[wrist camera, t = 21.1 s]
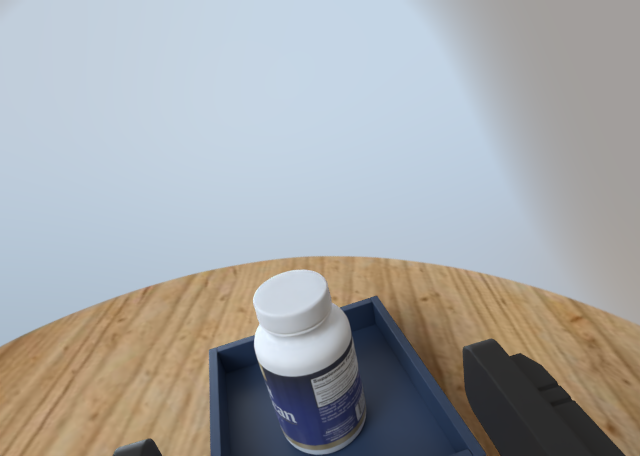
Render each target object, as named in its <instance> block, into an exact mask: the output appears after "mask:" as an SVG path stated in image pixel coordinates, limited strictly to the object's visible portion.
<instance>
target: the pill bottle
mask: <svg viewBox="0 0 640 456" xmlns="http://www.w3.org/2000/svg"><path fill="white" fill-rule="evenodd" d="M253 304H254V307H255V311H256V314H257V318H258V321H259V323H260V325H259V326H258V328H257V330H256V334H255V338H254V348H255V353H256V356H257V360H258V363H259V365H260V368H261V371H262V374H263V377H264V380H265V383H266V386H267V389H268V391H269V395H270V397H271V400H272V403H273V406H274V409H275V412H276V415H277V418H278V420H279V423H280V426H281V429H282V431H283V433H284V435H285V437H286V438H287V440H288V441H289V442H290V443H291V444H292V445H293V446H294V447H295V448H297V449H299V450H300V451H303V452H305V453H309V454H314V455H323V454H329V453H333V452H336V451H338V450H340V449H342V448H344V447H345V446H347V445H348V444H350V443H351V442H352V441H353V440H354V439H355V438H356V437H357V435H358V434H359V433H360V431H361V429H362V427H363V425H364V422H365V418H366V402H365V396H364V391H363V386H362V381H361V377H360V372H359V367H358V362H357V357H356V352H355V347H354V342H353V337H352V332H351V328H350V324H349V321H348V318H347V316H346V315H345V313H344V312H343V311H342V310H341V309H340V308H339V307H338V306H336V305H335V304H333V303H332V302H331V296H330V292H329V288H328V284H327V281H326V280H325V278H324V277H323V276H322V275H321V274H319V273H317V272H314V271H310V270H293V271H288V272H284V273H281V274H278V275H276V276H274V277H272V278H270V279H269V280H267V281H266V282H264V283H263V284H262V285H261V286H260V287H259V288H258V289H257V291H256V293H255V295H254V299H253Z"/></svg>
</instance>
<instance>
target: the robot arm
mask: <svg viewBox="0 0 640 456" xmlns="http://www.w3.org/2000/svg"><path fill="white" fill-rule="evenodd" d="M463 366H464V382H465V391H466V395H467V398H468V401H469V404H470V406H471V408H472V410H473V412H474V414H475V415H476V417H477V418H478V420H479V422H480V423H481V425H482V426H483V428H484V429H485V431H486V433H487V434H488V436H489V437H490V439H491V441H492V442H493V444H494V445H495V447H496V448H497V450H498V452H499V453H500V455H501V456H625V455H624V454H623V452H622V451H621V450H620V449H619V448H618V447H617V446H616V445H615V444H614V443H613V442H612V441H611V440H610V439H609V437H608V436H607V435H606V434H605V433H604V432H603V431H602V430H601V429H600V428H599V427H598V426H597V425H596V423H595V422H594V421H593V420H592V419H591V418H590V417H589V416H588V415H587V414H586V413H585V412H584V411H583V409H582V408H581V407H580V406H579V405H578V404H577V403H576V402H575V401H574V400H572V399H571V397H570V395H569V394H568V393H567V392H566V391H565V390H564V389H563V388H562V387H561V386H559V385H558V383H557V381H556V380H555V379H554V378H553V377H552V376H551V375H550V374H549V373H548V372H547V371H546V370H545V369H544V368H543V366H542V365H540V364H538V363H537V362H535V361H533V360H531V359H530V358H528V357H526V356H524V355H523V354H521V353H519V354H516V355H512V356H509V355H508V354H507V353H506V352H505V351H504V349H503V348H502V347H501V346H500V345H499V344H498V343H497V341H495V340H494V339H488V340H485V341H481V342H478V343H474V344H471V345H468V346H464V347H463ZM113 456H162V454H161V453H160V451H159V449H158V447H157V446H156V444H155V442H154V441H153V440H152V439H146V440H142V441H139V442H135V443H132V444H129V445H125V446H122V447H119V448H117V449H116V450H115V452H114V454H113Z"/></svg>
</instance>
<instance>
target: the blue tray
mask: <svg viewBox="0 0 640 456" xmlns="http://www.w3.org/2000/svg"><path fill="white" fill-rule="evenodd" d="M340 309H341V310H342V311H343V312H344V313H345V315H346V316H347V318H348V321H349V324H350V328H351V332H352V337H353V342H354V347H355V352H356V357H357V362H358V367H359V372H360V377H361V381H362V386H363V391H364V396H365V402H366V418H365V422H364V425H363V427H362V429H361V431H360V433H359V434H358V435H357V437H356V438H355V439H354V440H353V441H352V442H351V443H350V444H348V445H347V446H345V447H344V448H342V449H340V450H338V451H336V452H333V453H329V454H323V455H314V454H309V453H305V452H303V451H300V450H299V449H297V448H295V447H294V446H293V445H292V444H291V443H290V442H289V441H288V440H287V438H286V437H285V435H284V433H283V431H282V429H281V426H280V423H279V420H278V418H277V415H276V412H275V409H274V406H273V403H272V400H271V397H270V395H269V391H268V389H267V386H266V383H265V380H264V377H263V374H262V371H261V368H260V365H259V363H258V360H257V356H256V353H255V348H254V338H255V335H253V336H250V337H247V338H244V339H241V340H238V341H235V342H232V343H228V344H225V345H222V346H219V347H216V348H213V349H210V350H209V382H210V449H211V456H486V453H485V451H484V450H483V449H482V447H481V446H480V444H479V443H478V441H477V440H476V438H475V437H474V436H473V434H472V433H471V431H470V430H469V428H468V427H467V425H466V424H465V423H464V421H463V420H462V418H461V417H460V415H459V414H458V412H457V411H456V410H455V408H454V407H453V405H452V404H451V402H450V401H449V399H448V398H447V397H446V395H445V394H444V392H443V391H442V389H441V388H440V386H439V385H438V384H437V382H436V381H435V379H434V378H433V376H432V375H431V373H430V372H429V371H428V369H427V368H426V366H425V365H424V363H423V362H422V360H421V359H420V357H419V356H418V355H417V353H416V352H415V350H414V349H413V347H412V346H411V344H410V343H409V342H408V340H407V339H406V337H405V336H404V334H403V333H402V331H401V330H400V329H399V327H398V326H397V324H396V323H395V321H394V320H393V318H392V317H391V316H390V314H389V313H388V311H387V310H386V308H385V307H384V305H383V304H382V303H381V301H380V300H379V298H378V297H377V296H374V297H371V298H368V299H365V300H362V301H359V302H356V303H352V304H349V305H346V306H343V307H340Z"/></svg>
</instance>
